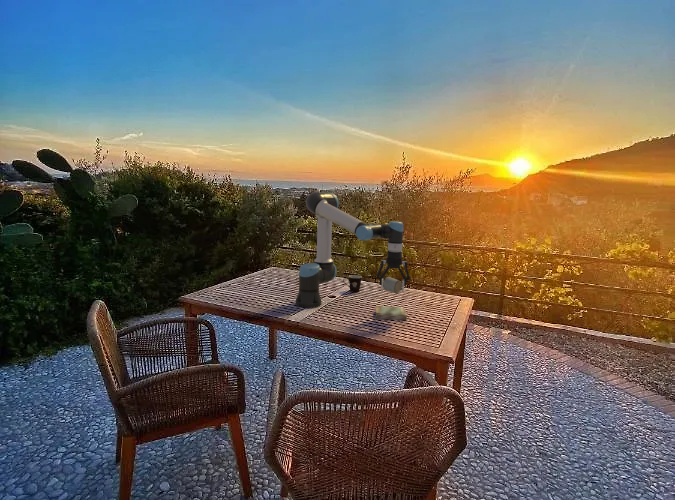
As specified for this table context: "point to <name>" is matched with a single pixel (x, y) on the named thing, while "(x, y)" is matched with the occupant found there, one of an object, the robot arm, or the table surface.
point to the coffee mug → (354, 283)
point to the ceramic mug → (392, 285)
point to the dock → (391, 313)
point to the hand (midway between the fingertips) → (392, 291)
